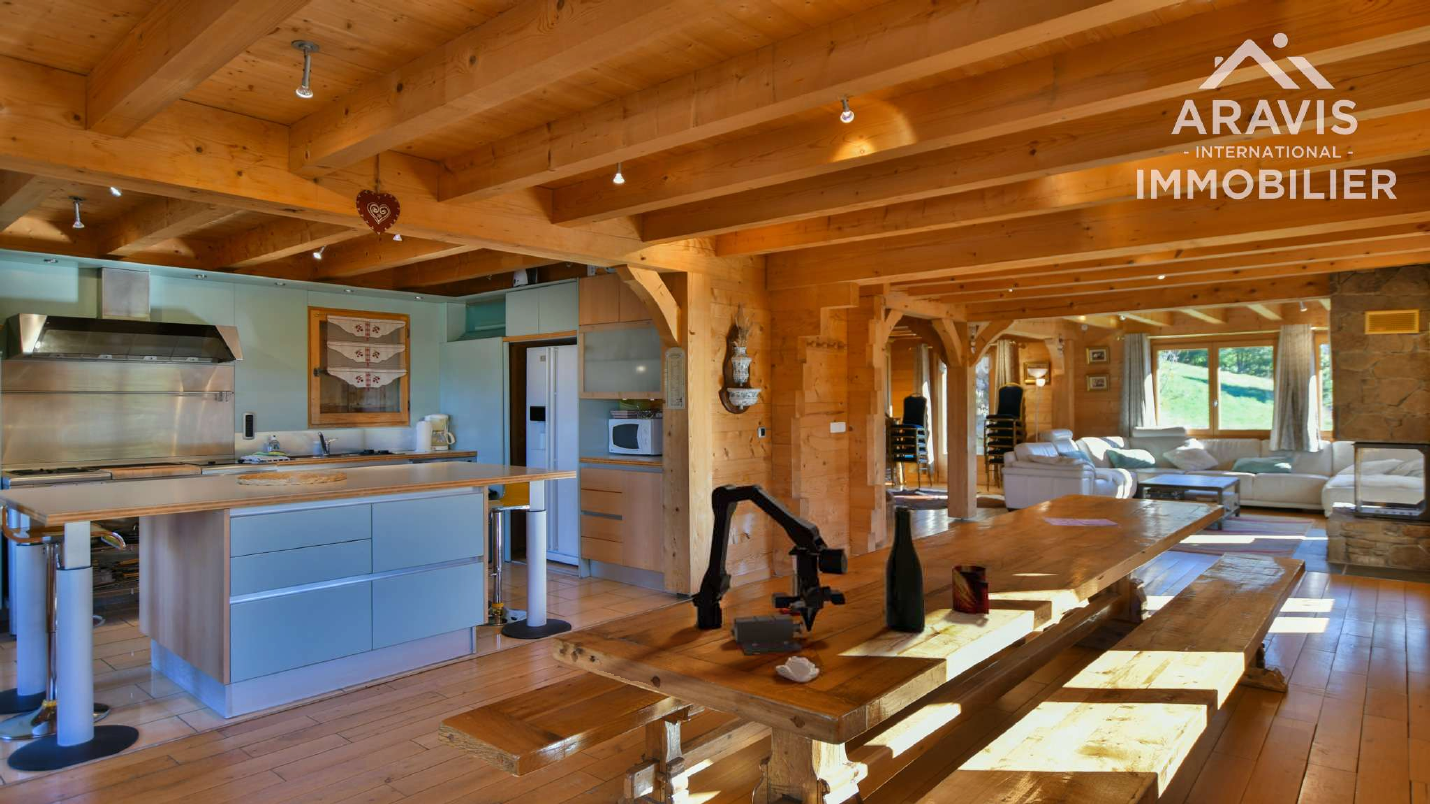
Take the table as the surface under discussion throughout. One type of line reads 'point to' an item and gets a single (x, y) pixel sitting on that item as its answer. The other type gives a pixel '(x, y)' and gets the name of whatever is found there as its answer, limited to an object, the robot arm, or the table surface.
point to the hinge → (765, 634)
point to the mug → (970, 589)
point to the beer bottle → (904, 579)
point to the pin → (798, 627)
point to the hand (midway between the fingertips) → (808, 631)
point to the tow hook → (793, 583)
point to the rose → (798, 669)
